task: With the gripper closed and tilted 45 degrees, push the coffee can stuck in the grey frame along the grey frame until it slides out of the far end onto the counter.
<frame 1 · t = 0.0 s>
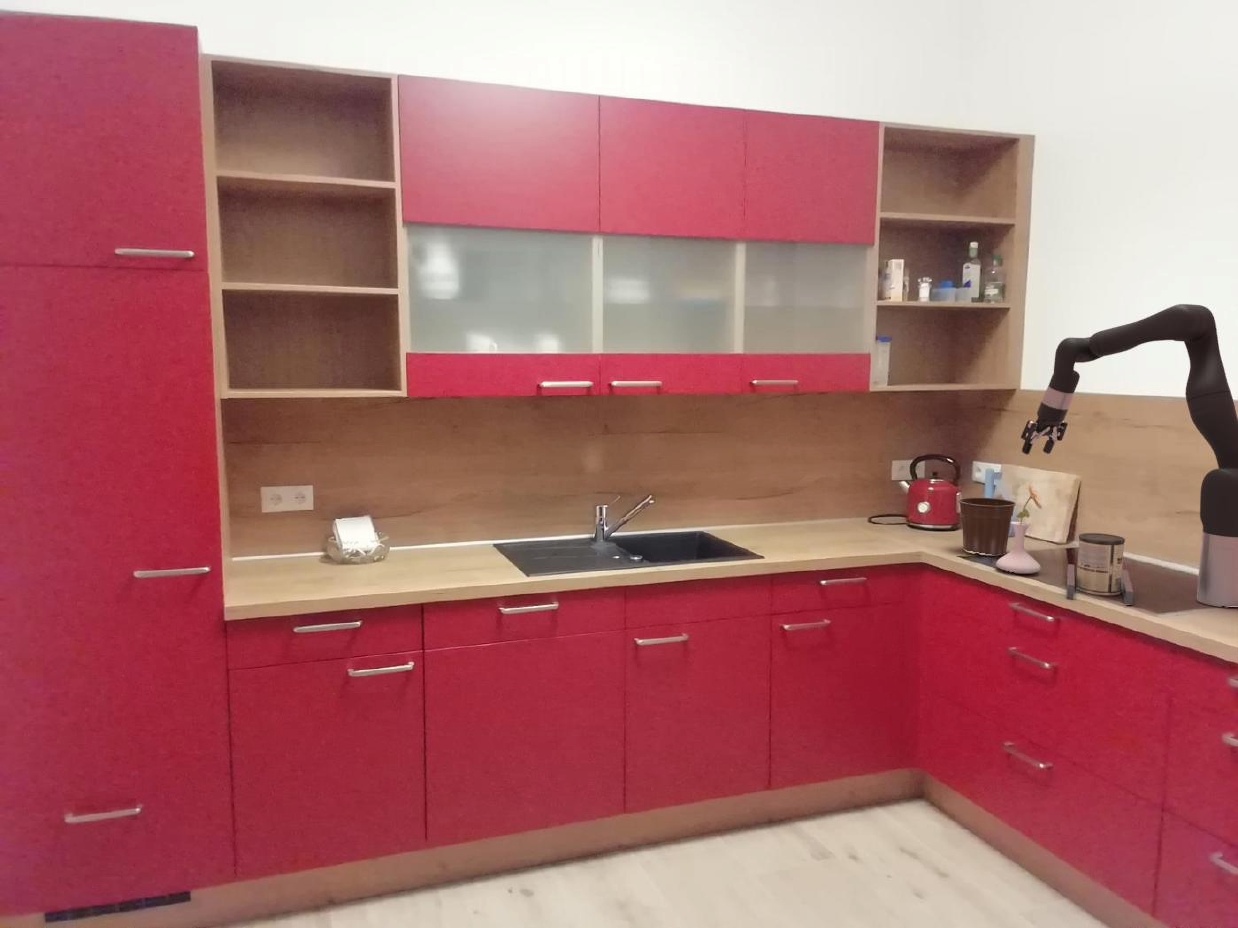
hand: (1035, 452, 259), 31 cm above the countertop, tool tilted 20°, fingers open, 8 cm apart
coffee can: (1097, 591, 222), on the countertop
flower in vase: (1019, 572, 242), on the countertop
plant pot: (983, 553, 266), on the countertop
grey frame: (1097, 590, 222), on the countertop
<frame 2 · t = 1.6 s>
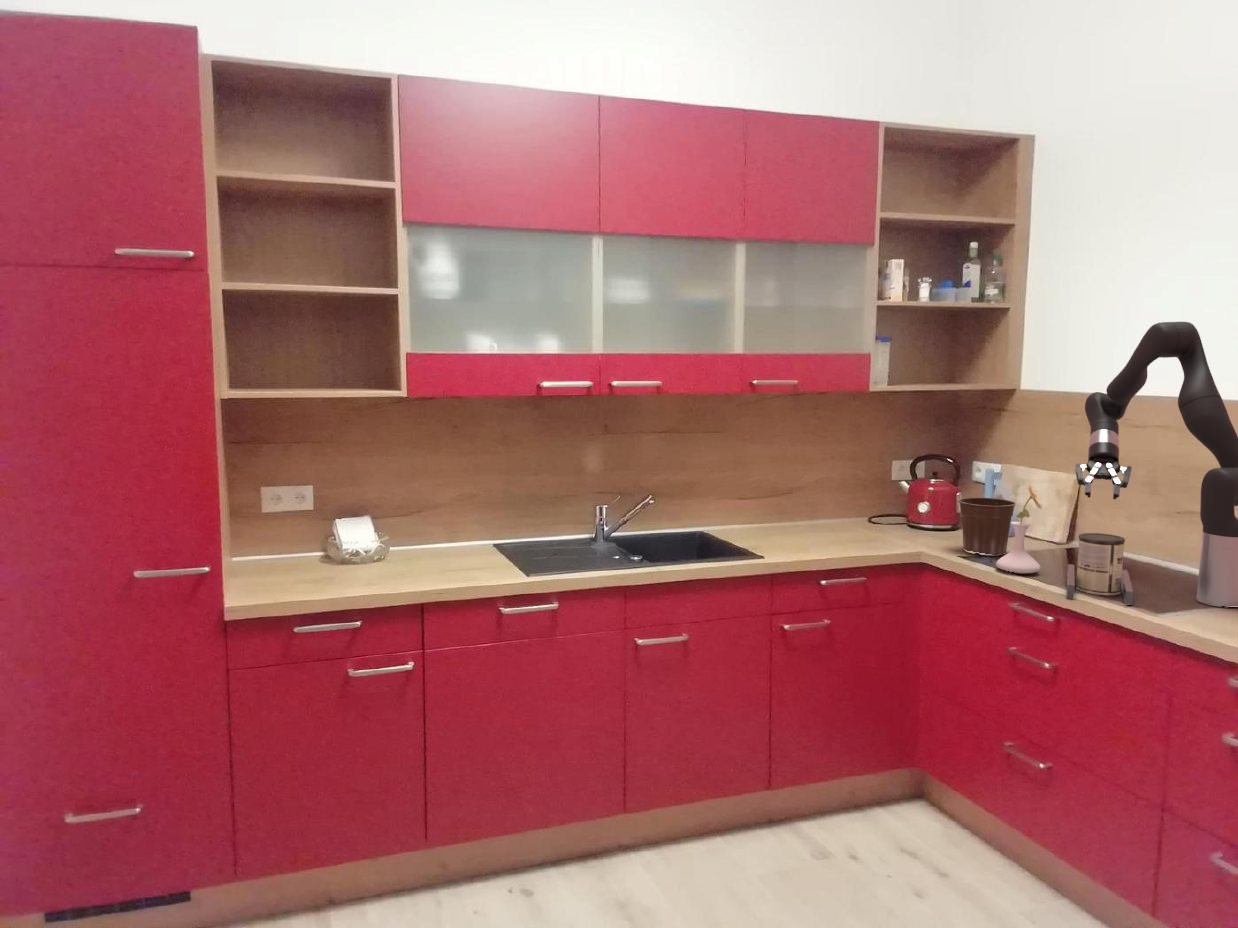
hand: (1102, 496, 235), 22 cm above the countertop, tool tilted 45°, fingers open, 5 cm apart
nothing on the countertop moved.
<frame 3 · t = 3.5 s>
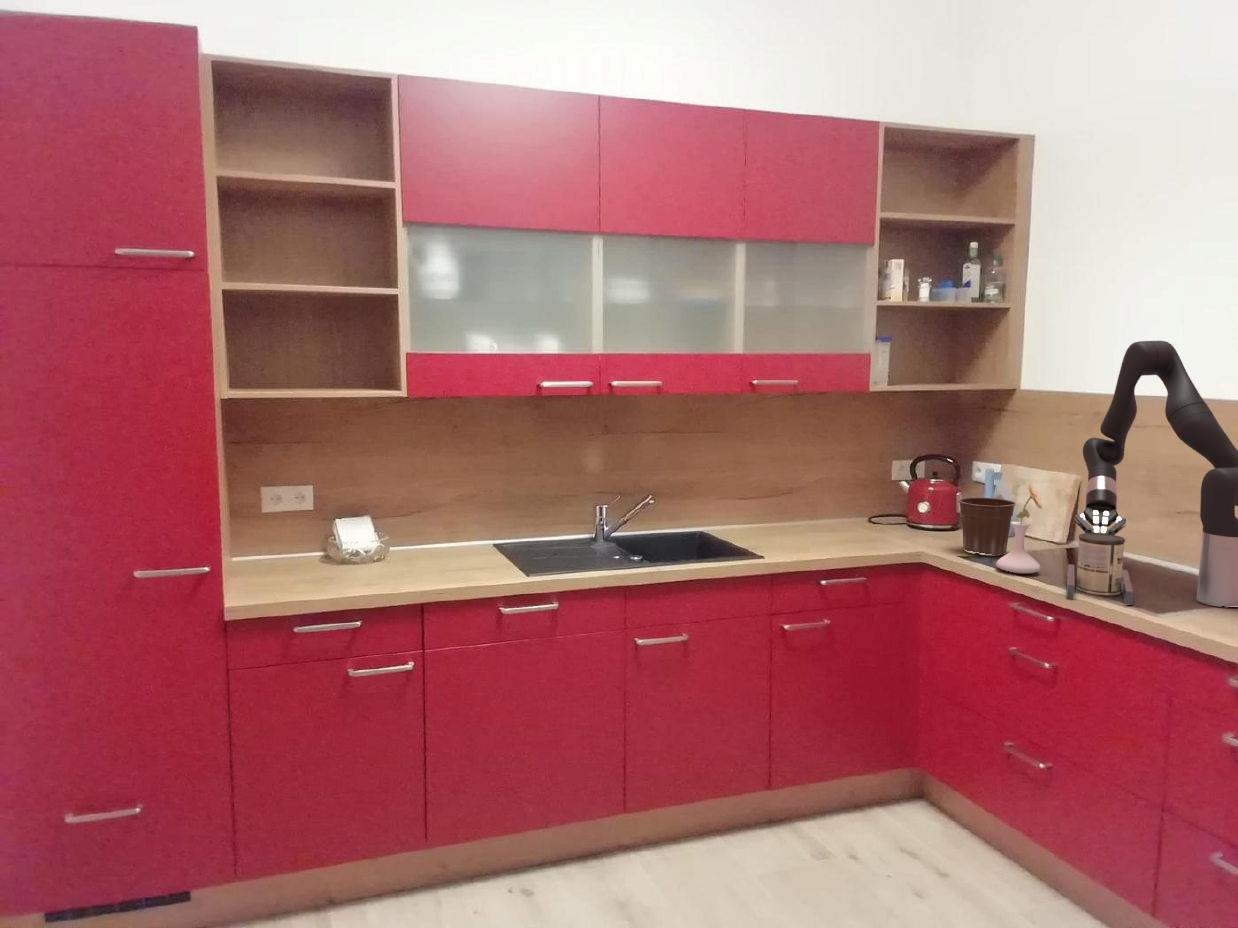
hand: (1099, 546, 233), 9 cm above the countertop, tool tilted 45°, fingers closed
nothing on the countertop moved.
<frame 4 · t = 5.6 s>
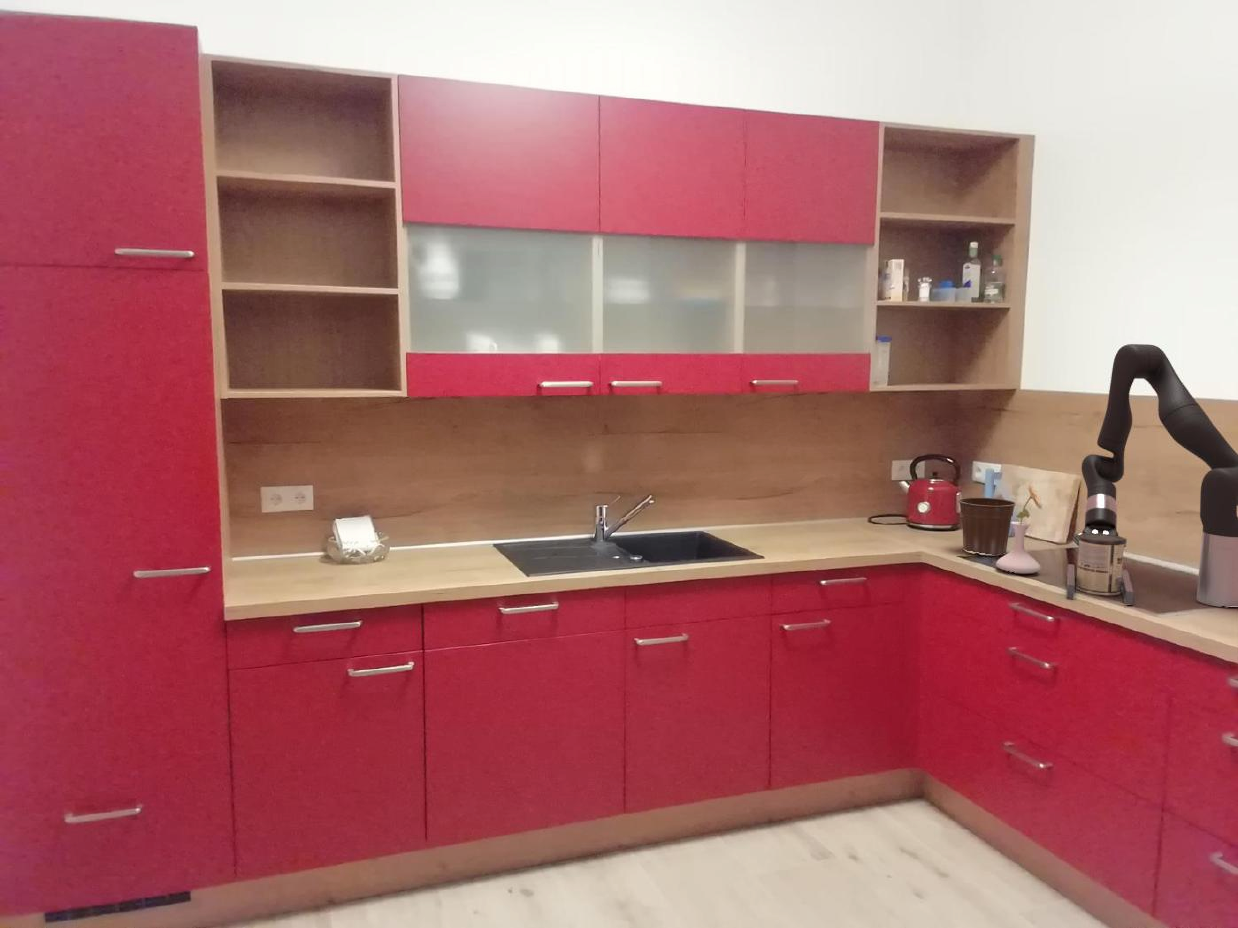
hand: (1098, 567, 226), 5 cm above the countertop, tool tilted 45°, fingers closed
coffee can: (1097, 591, 222), on the countertop, touching gripper
everything else where it was.
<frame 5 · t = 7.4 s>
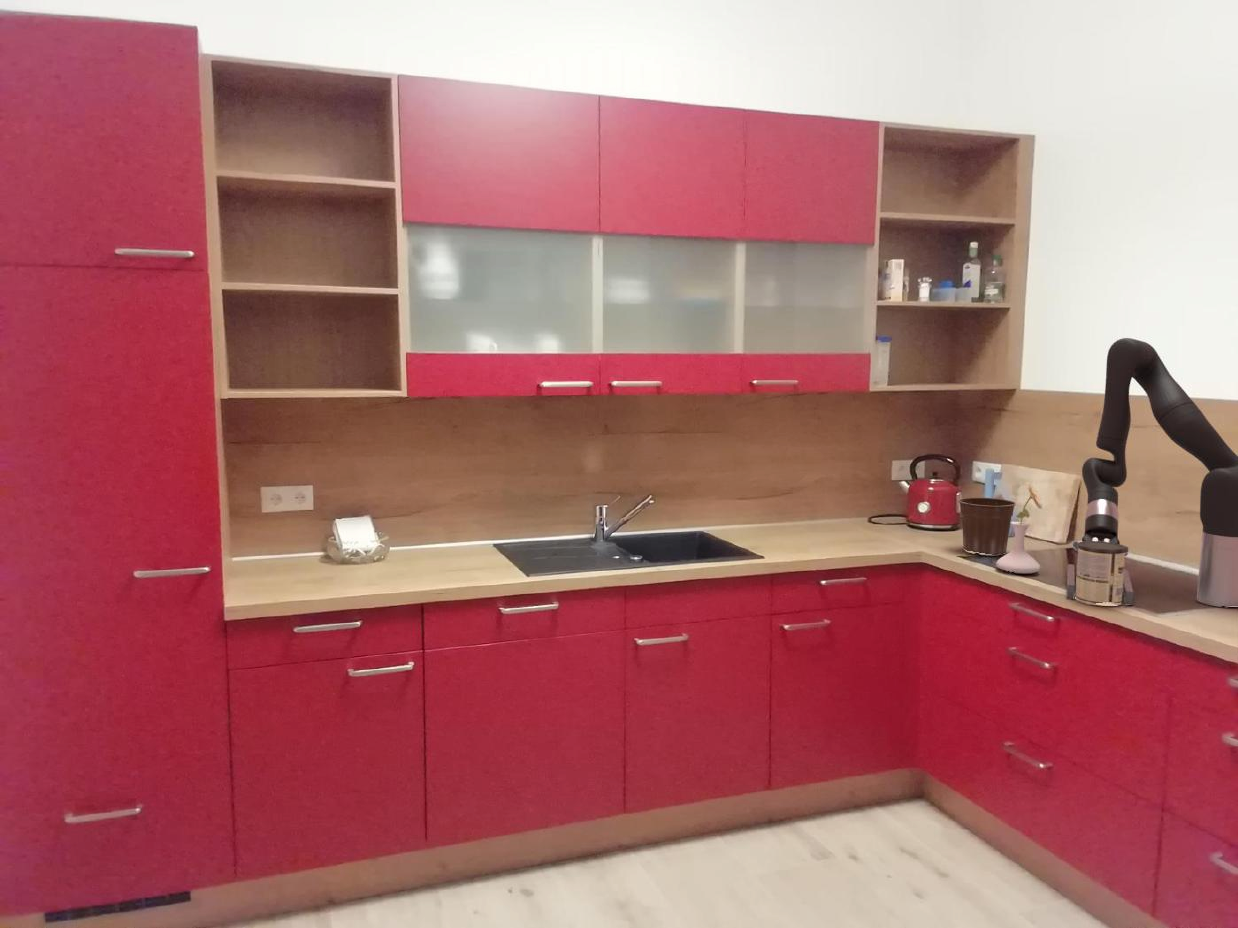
hand: (1098, 577, 216), 5 cm above the countertop, tool tilted 45°, fingers closed
coffee can: (1097, 602, 211), on the countertop, touching gripper
everything else where it was.
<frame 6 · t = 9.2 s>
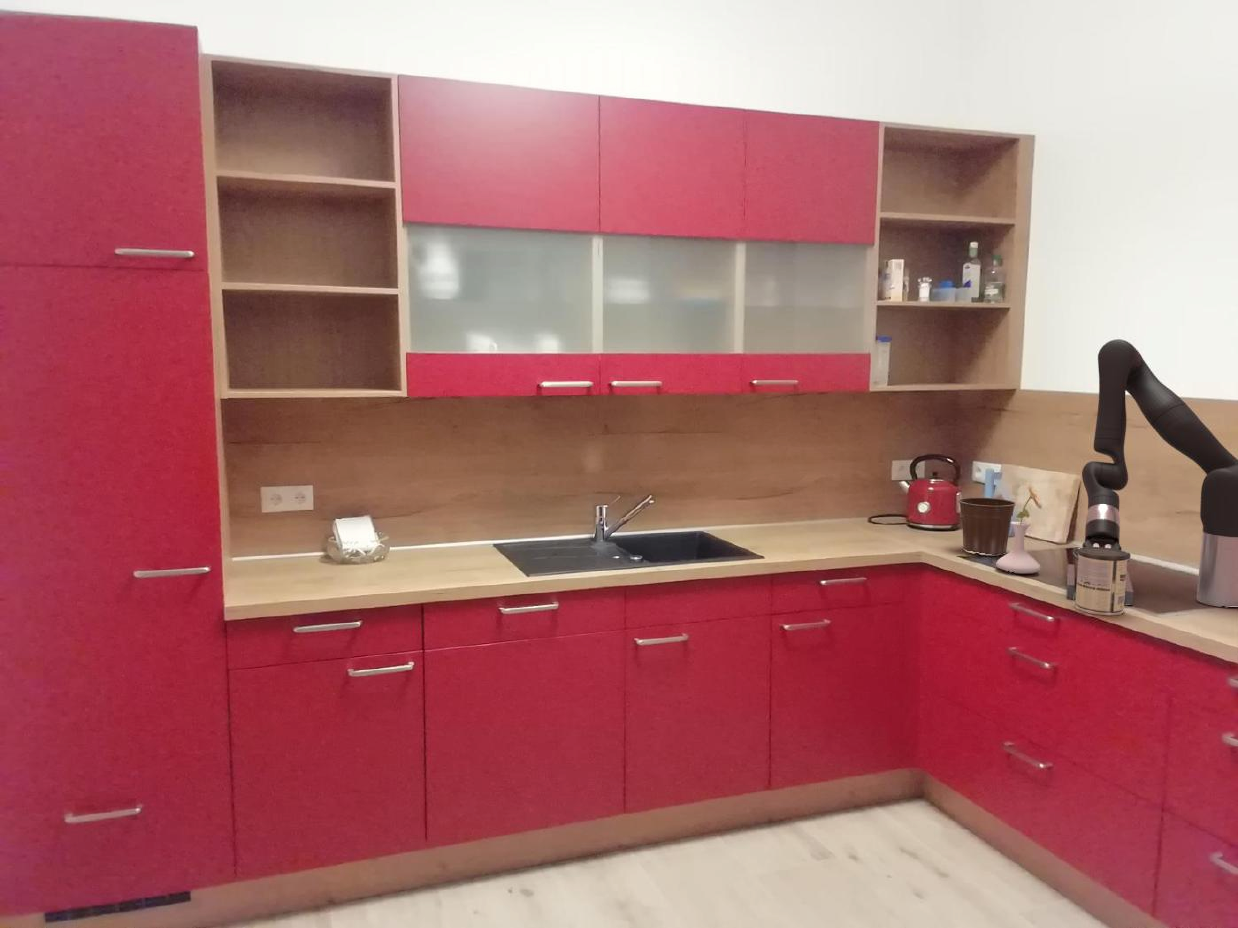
hand: (1100, 584, 208), 5 cm above the countertop, tool tilted 45°, fingers closed
coffee can: (1098, 610, 204), on the countertop, touching gripper
everything else where it was.
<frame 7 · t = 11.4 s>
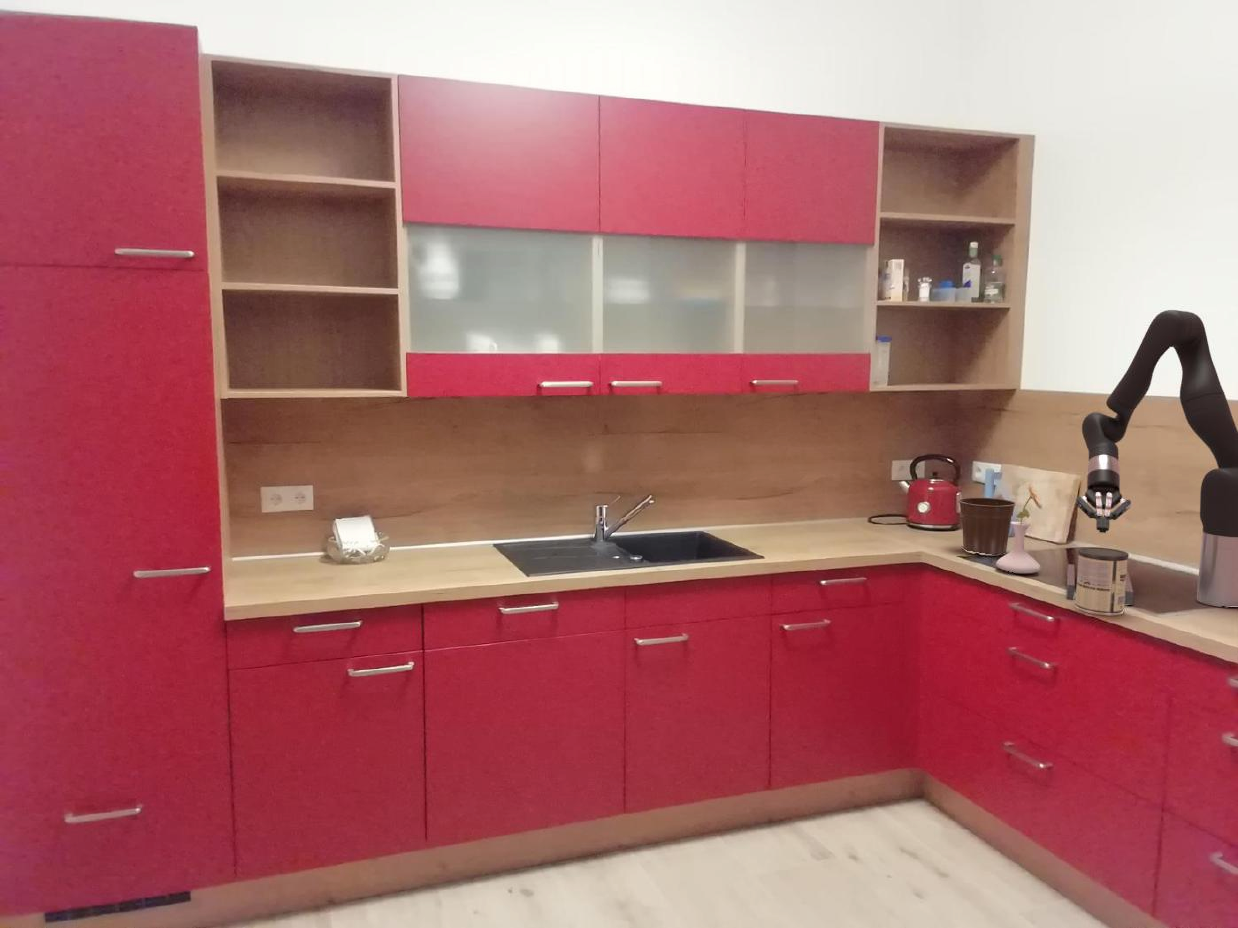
hand: (1103, 530, 220), 16 cm above the countertop, tool tilted 40°, fingers closed
coffee can: (1098, 610, 204), on the countertop
everything else where it was.
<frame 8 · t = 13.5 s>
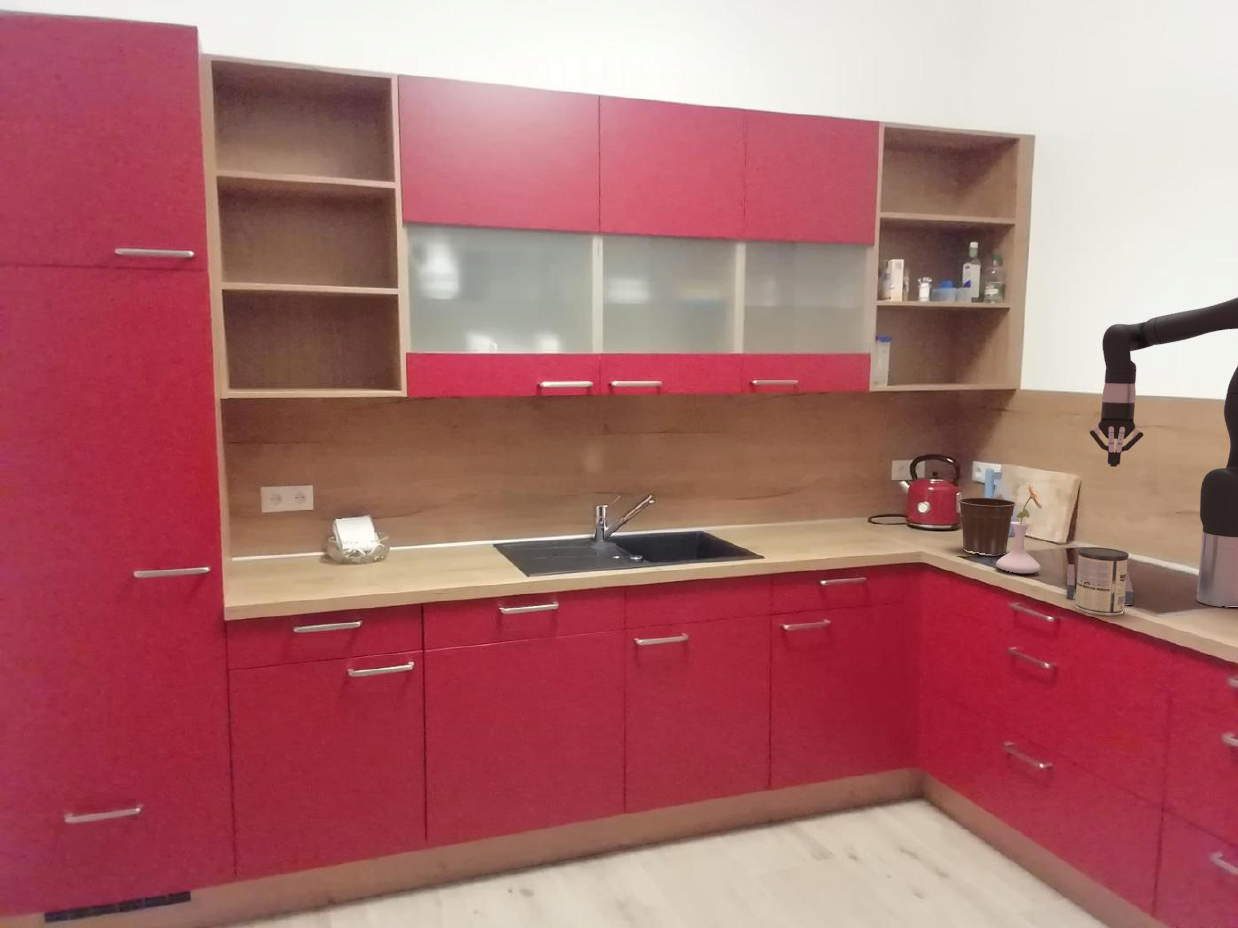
hand: (1113, 466, 229), 31 cm above the countertop, tool pointing down, fingers closed
nothing on the countertop moved.
at the end: coffee can inside the target area (4.0 cm from its centre), on the countertop; coffee can tilted 0°; coffee can moved 20.5 cm from its start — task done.
